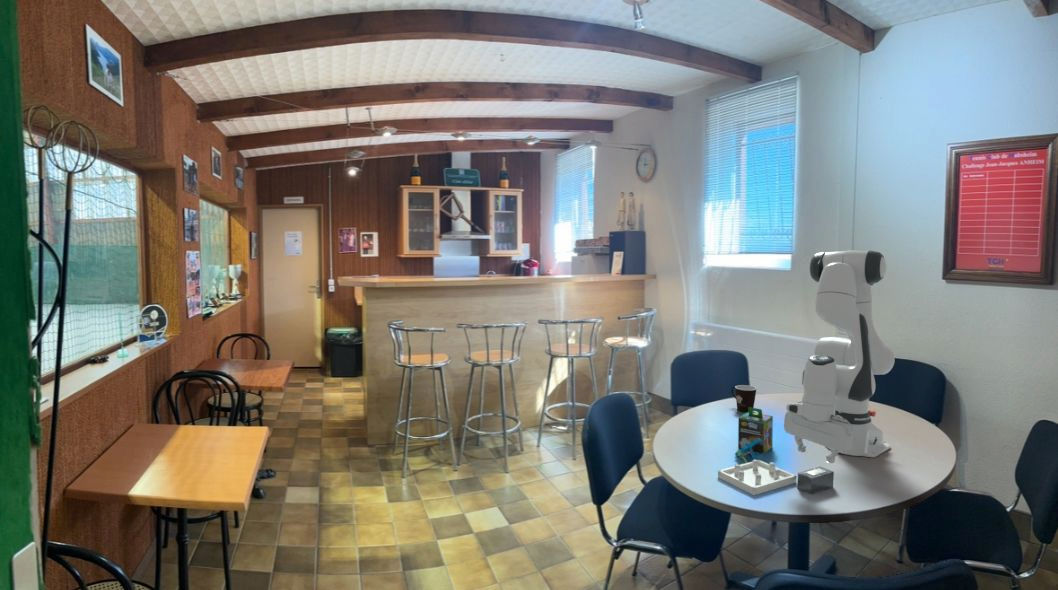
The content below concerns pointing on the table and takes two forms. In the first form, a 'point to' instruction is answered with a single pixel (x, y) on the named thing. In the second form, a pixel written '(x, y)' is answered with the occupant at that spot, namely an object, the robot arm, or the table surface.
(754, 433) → the chalk box
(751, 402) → the coffee mug
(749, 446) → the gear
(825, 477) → the block
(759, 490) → the holder tray
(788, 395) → the table surface
